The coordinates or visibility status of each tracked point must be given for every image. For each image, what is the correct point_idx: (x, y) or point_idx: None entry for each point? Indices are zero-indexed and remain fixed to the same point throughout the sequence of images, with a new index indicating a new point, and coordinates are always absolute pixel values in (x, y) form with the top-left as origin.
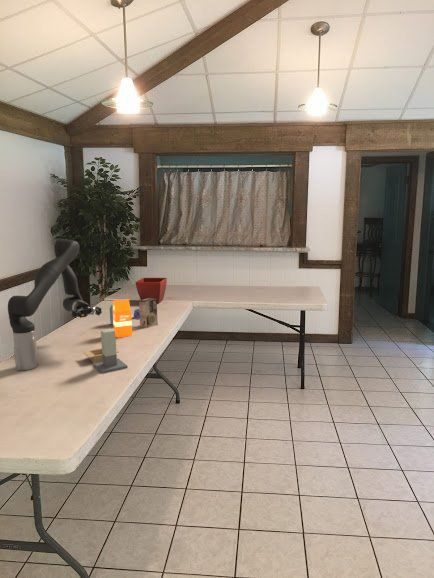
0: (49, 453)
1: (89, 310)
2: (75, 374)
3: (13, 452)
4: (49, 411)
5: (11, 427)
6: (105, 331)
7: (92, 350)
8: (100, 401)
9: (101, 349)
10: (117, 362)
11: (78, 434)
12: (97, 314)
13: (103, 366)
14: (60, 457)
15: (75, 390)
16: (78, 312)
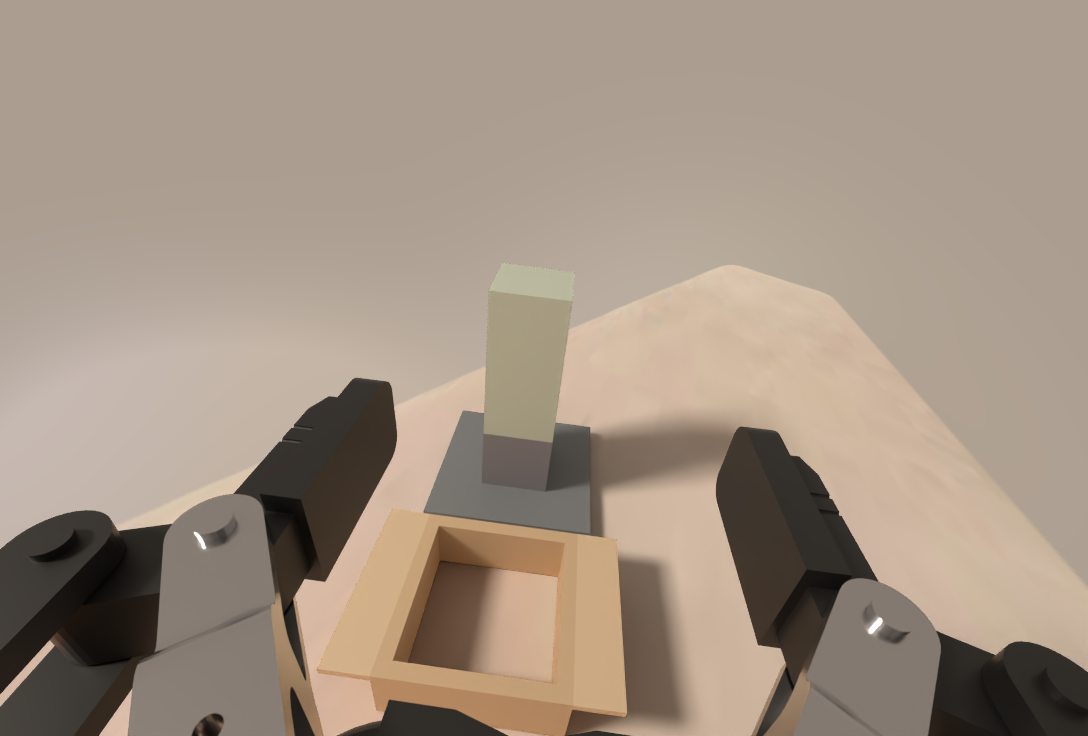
0: (758, 275)
1: (396, 721)
2: (705, 491)
3: (819, 293)
4: (780, 341)
5: (856, 336)
6: (557, 278)
7: (533, 684)
8: (652, 319)
9: (443, 671)
10: (471, 463)
11: (713, 280)
12: (378, 468)
13: (558, 462)
14: (741, 266)
15: (712, 383)
16: (833, 555)
